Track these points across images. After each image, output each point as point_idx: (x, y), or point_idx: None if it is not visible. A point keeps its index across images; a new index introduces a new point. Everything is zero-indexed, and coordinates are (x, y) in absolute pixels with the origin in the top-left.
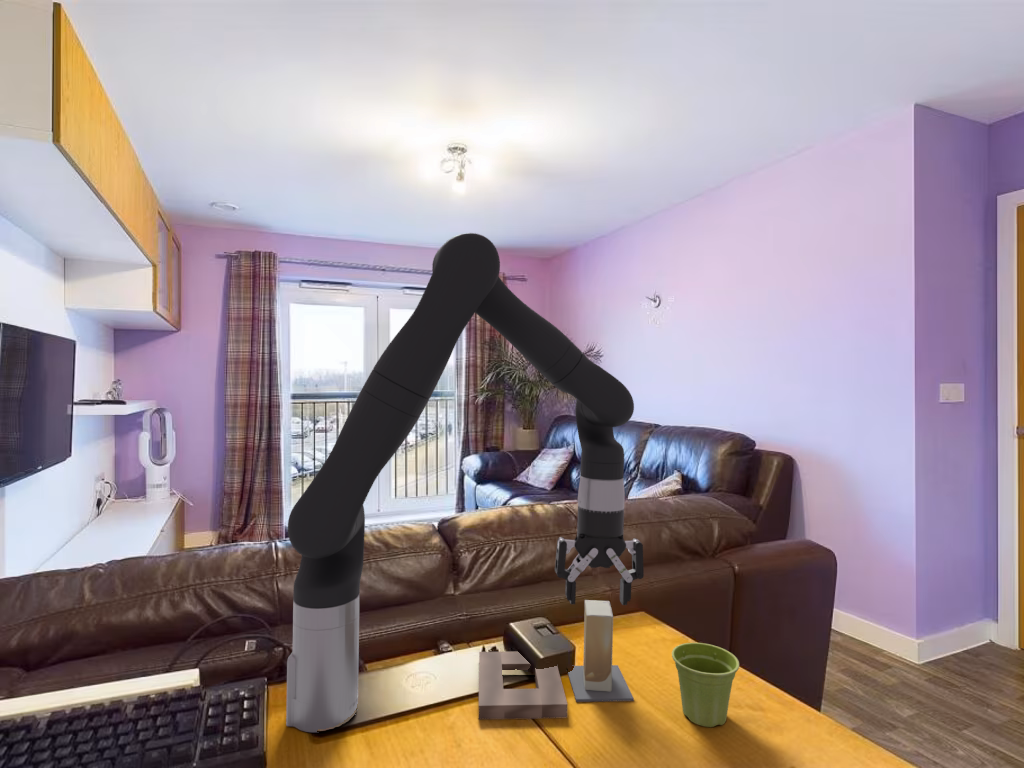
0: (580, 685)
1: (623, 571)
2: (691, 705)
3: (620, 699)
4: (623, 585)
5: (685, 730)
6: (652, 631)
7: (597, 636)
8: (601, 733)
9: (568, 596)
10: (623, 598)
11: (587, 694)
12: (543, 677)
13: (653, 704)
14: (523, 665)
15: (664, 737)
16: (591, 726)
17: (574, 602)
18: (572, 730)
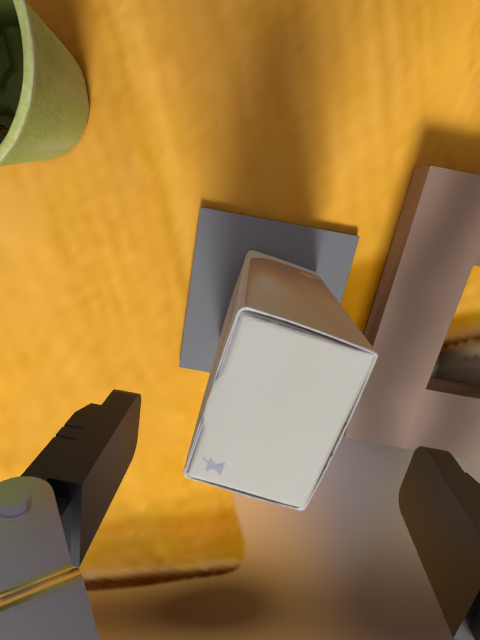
0: None
1: (28, 580)
2: (61, 47)
3: (237, 214)
4: (91, 474)
5: (115, 37)
6: None
7: (307, 300)
8: (354, 75)
9: (477, 490)
10: (126, 410)
11: (318, 252)
12: (432, 317)
13: (154, 180)
14: (453, 392)
15: (188, 16)
16: (366, 114)
17: (430, 450)
18: (426, 107)
